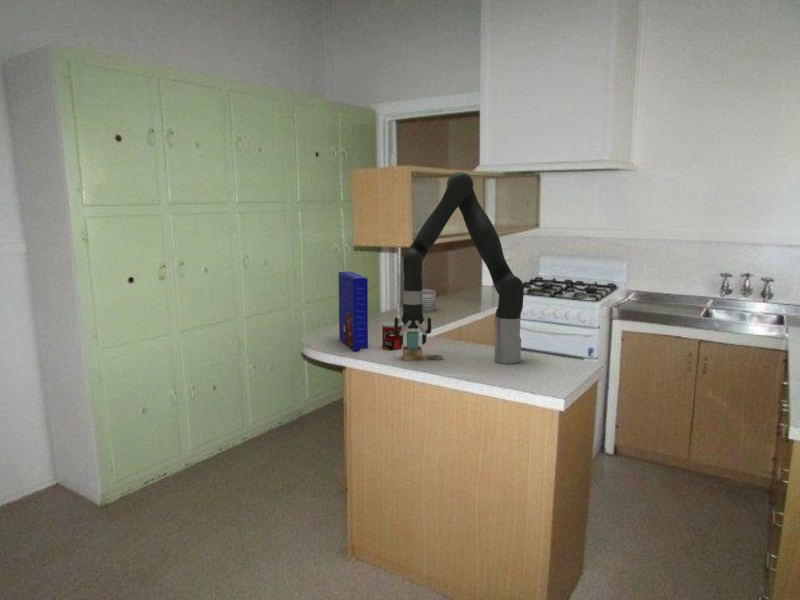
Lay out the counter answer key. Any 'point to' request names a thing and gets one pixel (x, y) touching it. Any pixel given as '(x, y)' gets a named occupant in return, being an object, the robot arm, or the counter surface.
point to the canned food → (390, 336)
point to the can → (429, 300)
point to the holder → (418, 355)
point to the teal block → (412, 340)
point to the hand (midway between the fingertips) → (412, 344)
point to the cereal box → (353, 310)
